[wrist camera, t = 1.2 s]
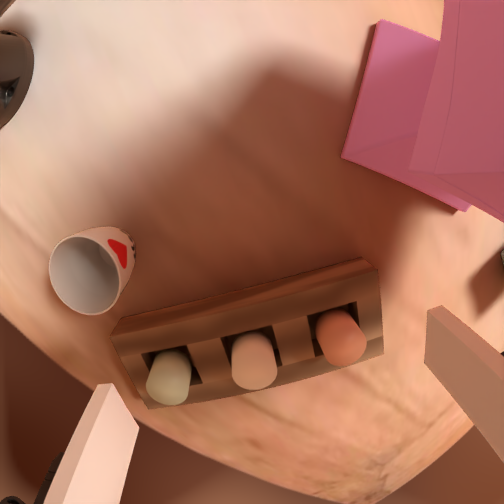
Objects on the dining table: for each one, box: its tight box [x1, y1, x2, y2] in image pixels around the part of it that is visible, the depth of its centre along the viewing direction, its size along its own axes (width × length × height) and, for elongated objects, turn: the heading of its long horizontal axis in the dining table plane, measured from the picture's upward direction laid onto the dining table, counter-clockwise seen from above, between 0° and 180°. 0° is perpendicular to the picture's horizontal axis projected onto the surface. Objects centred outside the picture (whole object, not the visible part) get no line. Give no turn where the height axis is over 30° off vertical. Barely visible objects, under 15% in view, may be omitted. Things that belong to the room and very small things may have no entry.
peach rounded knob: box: [232, 331, 277, 390], centre depth 35 cm, size 5×5×5 cm
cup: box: [49, 226, 136, 315], centre depth 32 cm, size 8×8×10 cm
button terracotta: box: [314, 308, 367, 366], centre depth 35 cm, size 5×5×5 cm
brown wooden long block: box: [110, 257, 384, 409], centre depth 38 cm, size 12×32×5 cm, turn 104°
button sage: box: [146, 349, 192, 405], centre depth 35 cm, size 5×5×5 cm
